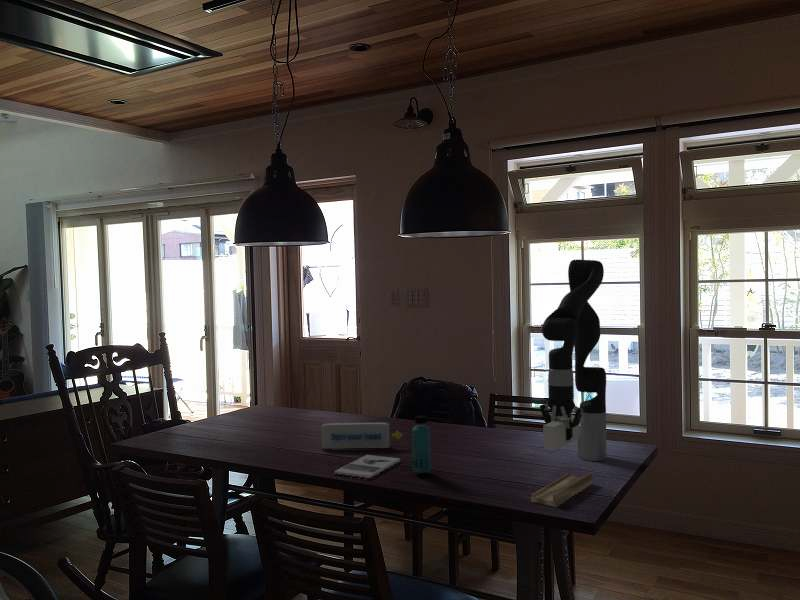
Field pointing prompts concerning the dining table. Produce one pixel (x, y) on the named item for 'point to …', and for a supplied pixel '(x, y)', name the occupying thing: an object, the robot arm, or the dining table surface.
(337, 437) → the decorative sign
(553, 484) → the wooden grooved tray
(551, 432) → the white rectangular block
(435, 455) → the dining table surface
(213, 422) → the dining table surface
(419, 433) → the beverage bottle
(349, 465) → the book
